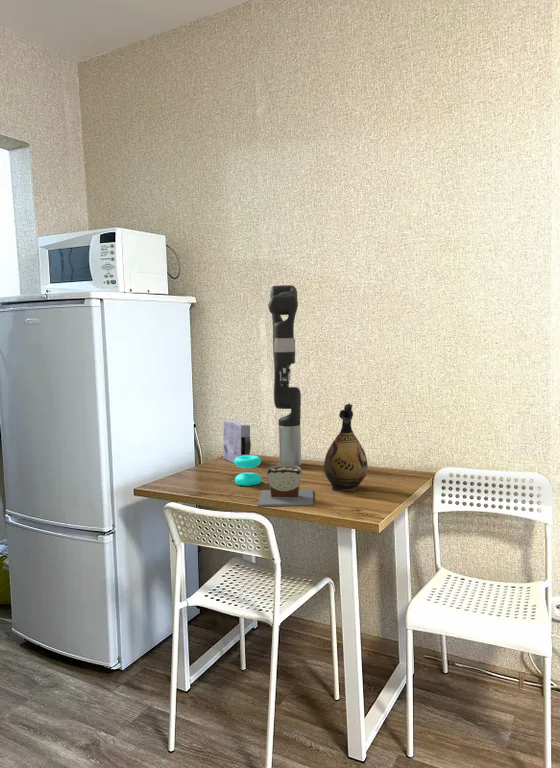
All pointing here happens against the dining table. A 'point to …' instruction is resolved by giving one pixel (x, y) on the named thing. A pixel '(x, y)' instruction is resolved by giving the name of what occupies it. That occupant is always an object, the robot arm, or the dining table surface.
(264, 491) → the mat
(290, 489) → the food container
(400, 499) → the dining table surface
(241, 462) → the donuts
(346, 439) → the ceramic jug
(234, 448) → the cake pan box
